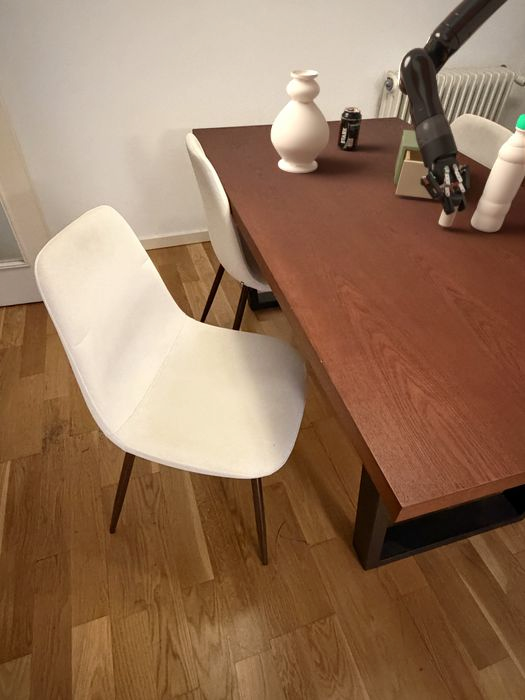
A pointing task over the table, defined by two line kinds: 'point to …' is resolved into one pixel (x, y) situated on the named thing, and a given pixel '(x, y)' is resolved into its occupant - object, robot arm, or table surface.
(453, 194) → the small capped bottle
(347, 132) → the beverage can
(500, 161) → the water bottle
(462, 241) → the table surface
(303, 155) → the decorative vase
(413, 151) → the drawer
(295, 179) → the table surface
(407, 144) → the cabinet
